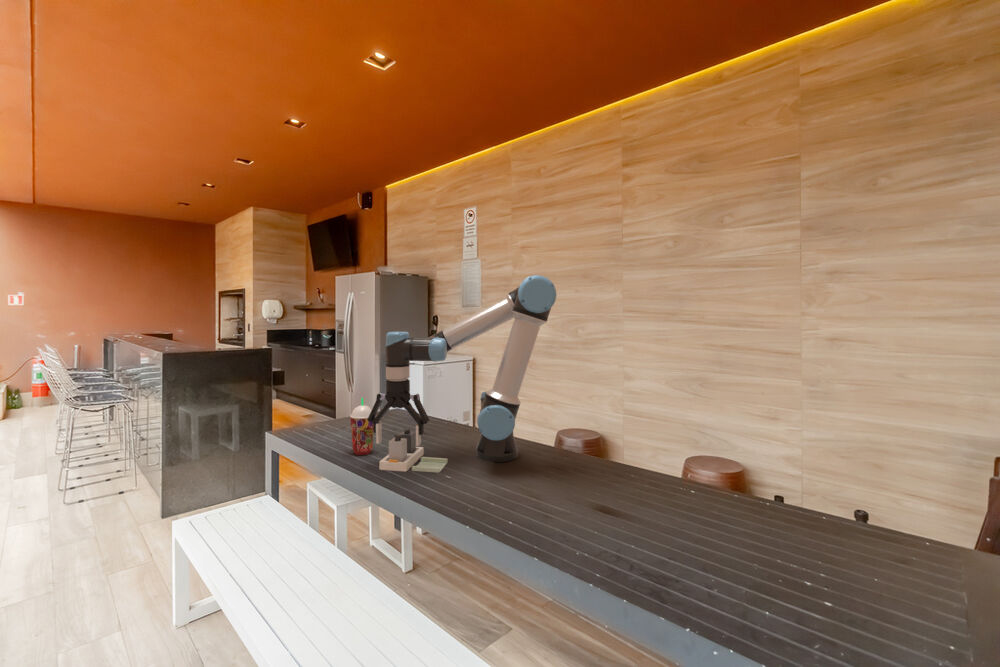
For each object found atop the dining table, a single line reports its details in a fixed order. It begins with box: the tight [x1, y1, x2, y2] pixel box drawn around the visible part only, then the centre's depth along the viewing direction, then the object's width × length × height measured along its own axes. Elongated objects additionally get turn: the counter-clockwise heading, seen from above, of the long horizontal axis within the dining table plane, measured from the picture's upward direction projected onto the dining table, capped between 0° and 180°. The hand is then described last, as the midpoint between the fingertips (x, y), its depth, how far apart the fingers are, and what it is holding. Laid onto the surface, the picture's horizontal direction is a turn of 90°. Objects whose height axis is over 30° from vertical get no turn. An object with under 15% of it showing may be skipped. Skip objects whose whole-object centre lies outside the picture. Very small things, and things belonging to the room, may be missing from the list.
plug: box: [388, 434, 407, 462], centre depth 146 cm, size 4×4×10 cm
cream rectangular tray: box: [378, 427, 425, 472], centre depth 151 cm, size 9×17×10 cm, turn 171°
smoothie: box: [349, 397, 374, 456], centre depth 161 cm, size 8×8×20 cm
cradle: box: [411, 456, 449, 473], centre depth 147 cm, size 9×10×2 cm
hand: (398, 443), depth 146 cm, fingers open, 13 cm apart
